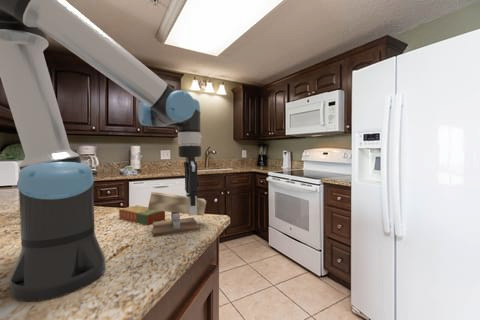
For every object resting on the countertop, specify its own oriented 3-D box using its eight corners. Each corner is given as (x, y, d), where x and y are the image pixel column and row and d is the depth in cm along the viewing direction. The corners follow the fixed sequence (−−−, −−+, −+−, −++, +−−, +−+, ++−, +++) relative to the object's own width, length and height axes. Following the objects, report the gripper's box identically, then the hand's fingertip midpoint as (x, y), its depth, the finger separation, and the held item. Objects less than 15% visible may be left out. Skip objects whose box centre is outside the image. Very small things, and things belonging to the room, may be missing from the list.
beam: (148, 209, 72) (151, 193, 72) (148, 206, 76) (151, 191, 76) (203, 215, 78) (206, 201, 79) (201, 212, 82) (203, 198, 82)
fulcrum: (199, 230, 74) (199, 214, 74) (153, 236, 69) (153, 219, 69) (193, 220, 85) (193, 205, 85) (153, 224, 80) (152, 209, 80)
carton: (138, 214, 94) (138, 204, 94) (165, 220, 86) (165, 209, 86) (118, 220, 87) (118, 208, 87) (147, 226, 79) (146, 214, 79)
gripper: (206, 144, 71) (207, 218, 72) (196, 145, 87) (198, 206, 88) (181, 144, 68) (183, 221, 70) (176, 145, 84) (178, 208, 85)
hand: (191, 213), depth 79 cm, fingers closed on beam, 4 cm apart
